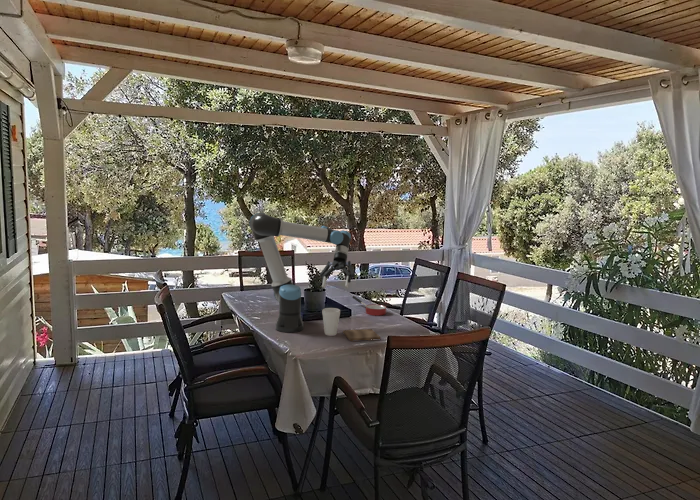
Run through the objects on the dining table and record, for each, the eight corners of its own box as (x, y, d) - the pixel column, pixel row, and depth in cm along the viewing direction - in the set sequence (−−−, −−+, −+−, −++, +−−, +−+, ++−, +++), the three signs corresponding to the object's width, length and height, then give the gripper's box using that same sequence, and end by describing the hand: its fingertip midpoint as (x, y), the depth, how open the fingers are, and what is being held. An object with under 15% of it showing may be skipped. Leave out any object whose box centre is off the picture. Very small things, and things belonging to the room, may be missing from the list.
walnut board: (350, 341, 247) (350, 338, 247) (343, 333, 261) (343, 330, 261) (380, 339, 251) (380, 337, 251) (371, 331, 266) (371, 329, 266)
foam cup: (337, 337, 253) (337, 312, 252) (319, 335, 255) (320, 311, 254) (340, 332, 263) (341, 308, 261) (324, 330, 265) (325, 307, 263)
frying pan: (342, 306, 323) (342, 297, 322) (357, 304, 331) (357, 295, 330) (375, 317, 298) (375, 306, 298) (390, 314, 307) (390, 304, 306)
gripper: (363, 258, 277) (358, 290, 266) (322, 259, 285) (316, 291, 274) (359, 250, 272) (354, 283, 260) (318, 252, 280) (311, 284, 268)
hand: (334, 287), depth 267 cm, fingers open, 13 cm apart
